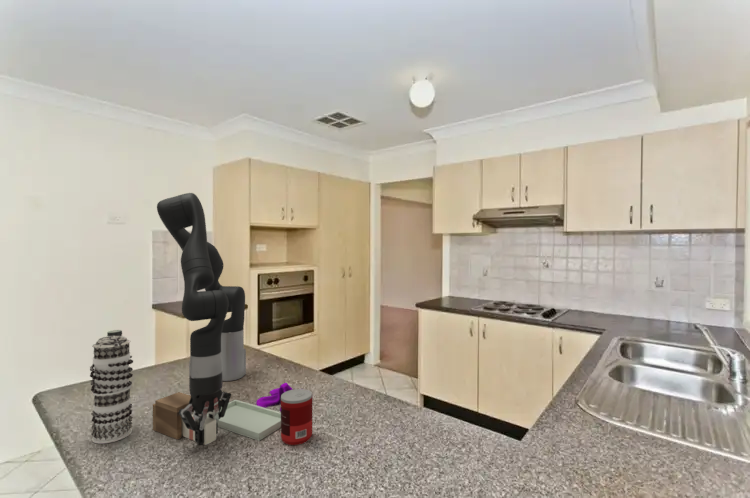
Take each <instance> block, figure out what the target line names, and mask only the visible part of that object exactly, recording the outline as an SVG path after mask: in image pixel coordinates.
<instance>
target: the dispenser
mask: <svg viewBox="0 0 750 498" xmlns="http://www.w3.org/2000/svg"><path fill="white" fill-rule="evenodd" d="M190 398H191V395H189V394H186V393H184V392H180V391H177V392H175V393H173V394H170V395H167V396H165V397H161V398H159V399H156V400H154V401H155V402H154V403H153V404H152V430H153V431H154V432H158V433H160V434H162V435H165V436H167V437H170V438H172V439H174V440H180V439H181V438H183V436H182V426H181V416H180V414H179V410H180V409H184V408H185V407H187V406H188V405H189V401H190ZM192 412H194V410H193V409H192Z"/></svg>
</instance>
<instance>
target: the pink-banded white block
mask: <svg viewBox="0 0 750 498" xmlns="http://www.w3.org/2000/svg"><path fill="white" fill-rule="evenodd" d="M192 413H193V414H194V412H192ZM193 414H192V417H193ZM200 415H201V414H200ZM193 419H194V418H193ZM181 426H182V438H183V437H184V438H186V439H189V440H191V441H194V442H195V431H193V430H191V429H188V428H187V427H186V425H185V424H184V422H183V420H182V418H181ZM216 440H217V434H216V420H215V419H212V418H209V417H207V418H206V420H205V423H204V444H203V445H205V446H207V445H209V444H210V443H213V442H215V441H216Z"/></svg>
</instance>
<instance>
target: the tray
mask: <svg viewBox="0 0 750 498" xmlns="http://www.w3.org/2000/svg"><path fill="white" fill-rule="evenodd" d="M221 409H222V407H221ZM220 412H221V410H220ZM207 417H208V414H207ZM218 428H221V429H224V430H226V431H230V432H233V433H235V434H237V435H241V436H243V437H247V438H249V439H253V440H255V441H259V442H260V441H261V440H262V439H264V438H266V437H268V436H269V435H271V434H273V433H274V432H275V431H278V430H279V429H281V411H277V410H273V409H270V408H268V407H266V408H264V407H260V406H257V405H256V404H252V403H251V402H250V403H249V402H245V401H242V400H239V399H233V400H232V401H229V403H228V406H227V409H226V412H225V415H224V417H221V418H220V419H219V421H218Z"/></svg>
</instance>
